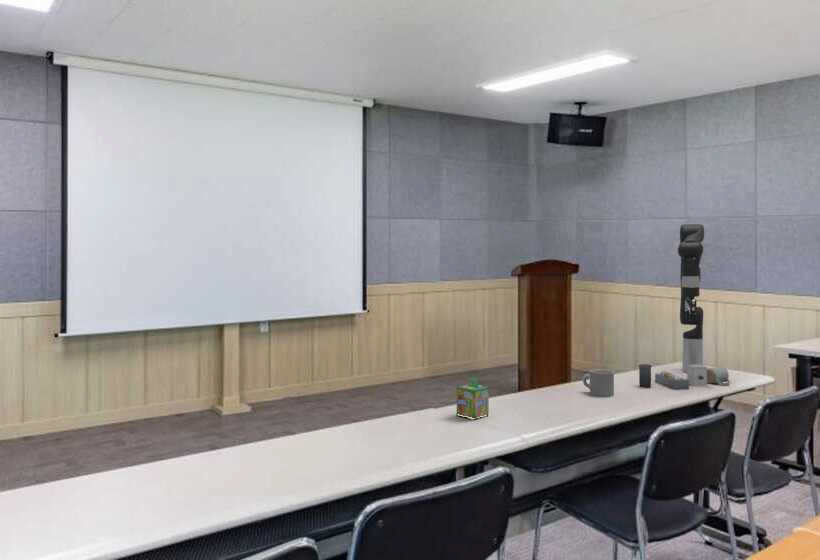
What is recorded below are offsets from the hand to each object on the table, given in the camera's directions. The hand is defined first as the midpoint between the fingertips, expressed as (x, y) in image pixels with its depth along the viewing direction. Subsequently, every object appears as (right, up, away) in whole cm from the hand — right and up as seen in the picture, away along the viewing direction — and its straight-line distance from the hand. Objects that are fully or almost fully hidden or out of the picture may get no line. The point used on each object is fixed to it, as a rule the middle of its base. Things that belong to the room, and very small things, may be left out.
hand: (690, 321), depth 288 cm
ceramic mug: (+15, -30, +4) cm, 33 cm away
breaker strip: (-8, -30, +1) cm, 31 cm away
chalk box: (-105, -34, -47) cm, 120 cm away
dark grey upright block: (-21, -30, -1) cm, 37 cm away
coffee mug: (-46, -31, -12) cm, 57 cm away
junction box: (+4, -30, +2) cm, 30 cm away
